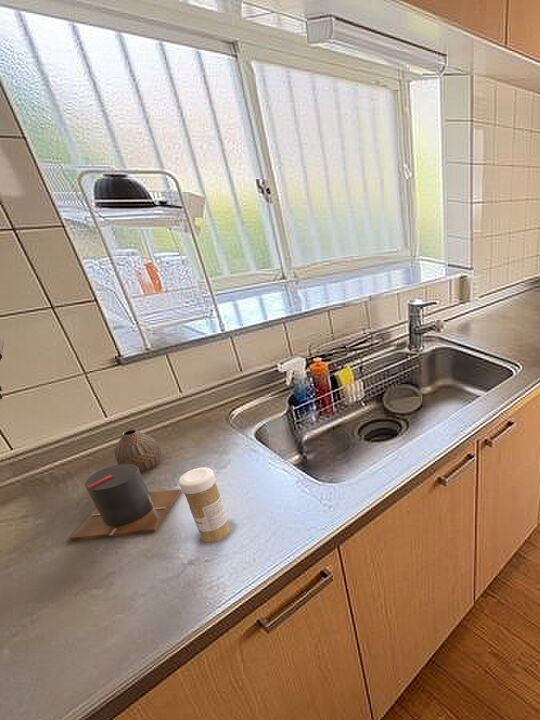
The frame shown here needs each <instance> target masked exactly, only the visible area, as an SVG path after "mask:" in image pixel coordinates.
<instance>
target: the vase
mask: <svg viewBox="0 0 540 720" xmlns="http://www.w3.org/2000/svg"><path fill="white" fill-rule="evenodd" d="M161 457H162V451H161V447H160V445H159V443H158V442H157V440H156V439H155V438H153V437H152V436H151V435H148V434H146V433H143V432H140V431H139V430H137V429H136V428H132V429H131V428H130V429H126V430H125V431H123V432H122V433H121V435H120V439H119V440H118V442H117V443H116V446H115V448H114V458H115V461H116V463H117V465H119V464H133V465H136V466H137V467H138V469H139V471H140V473H143V472H145V471H149V470H150V469H152V468H154V467H155V466H157V465H158V464H159V462H160V461H161Z"/></svg>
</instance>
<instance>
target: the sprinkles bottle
mask: <svg viewBox="0 0 540 720" xmlns="http://www.w3.org/2000/svg"><path fill="white" fill-rule="evenodd" d="M178 485H179V489H180V490H181V491H182V493H183V494H184V496H185V499H186V501H187V504H188V508H189V509H190V513H191V515H192V518H193V520H194V523H195V526H196V528H197V531H198V533H199V535H200V538H201V541H202V542H204V543H215V542H219V541H220V540H223V539H224V538H226V537H227V536H228V535H229V534H230V532H231V530H232V528H231V524H230V522H229V519H228V514H227V511H226V508H225V504H224V501H223V499H222V496H221V493H220V491H219V488H218V485H217V479H216V475H215V472H214V470H213V469H211V468H209V467H197V468H194V469H190V470H188V471H186V472H184V473H183V474H182V475H181V476H180V477H179V479H178Z"/></svg>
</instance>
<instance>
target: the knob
mask: <svg viewBox="0 0 540 720" xmlns="http://www.w3.org/2000/svg"><path fill="white" fill-rule="evenodd" d="M141 473H142V472H140V471H139V469H138V467H137V466H136V465H133V464H114V465H111V466H107V467H105V468H103V469H101V470H99V471H96V472H95V473H93V474H92V475H90V476H89V477H88V478H87V479H86V480H85V483H84V487H85V489H86V490H87V493H88V494H89V497H90V498H91V500H92V502H93V504H94V506H95V509H96V508H97V510H98V512H99V513H100V515H101V517H102V519H103V521H104V523H105V524H107V525H110V526H120V525H125V524H128V523H131V522H134V521H136V520H138V519H140V518H142V517H143V516H145V515H146V514H147V513H148V512H149V511H150V510H151V509H152V507H153V501H152V498H151V496H150V494H149V492H150V491H149V489H148V487H147V485H146V483H145V480H144V478H143V476H142V474H141Z"/></svg>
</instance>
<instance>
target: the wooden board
mask: <svg viewBox="0 0 540 720" xmlns="http://www.w3.org/2000/svg"><path fill="white" fill-rule="evenodd" d="M182 493H183V492H182V490H181V489H172V490H161V491H160V490H159V491H151V492H150V491H149V494H150V496H151V498H152V501H153V507H152V509H151V510H150V511H149V512H148V513H147V514H146V515H145V516H143V517H142V518H140V519H138V520H136V521H134V522H131V523H128V524H125V525H120V526H110V525H107V524H105V523H104V521H103V519H102V517H101V515H100V513H99V512H98V510H97V508H96V507H95V509H93V511H92V512H91V513H90V514H89V515H88V517H87V518H86V519H85V520H84V521H83V523H81V525H80V526H79V527H78V528H77V529H76V530H75V531H74V532H73V533H72V535H71V536H70V537H69V540H70V542H75V541H83V540H92V539H101V538H109V537H118V536H128V535H136V534H137V535H138V534H146V533H155V532H156V531H157V530H158V529H159V527H160V526H161V524H162V523H163V521H164V520H165V518H166V517H167V515H168V514H169V512H170V511H171V509H172V508H173V506H174V505H175V503H176V502H177V501H178V499H179V497H180V496H181V494H182Z"/></svg>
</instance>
